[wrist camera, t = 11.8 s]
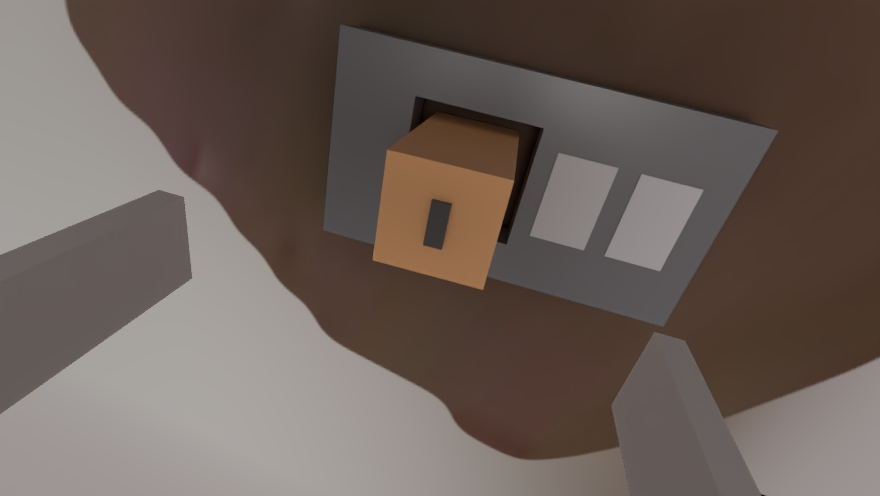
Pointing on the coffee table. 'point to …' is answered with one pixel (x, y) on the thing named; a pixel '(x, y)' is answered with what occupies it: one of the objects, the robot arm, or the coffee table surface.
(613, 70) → the coffee table surface
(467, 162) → the charger
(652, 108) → the power strip
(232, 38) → the coffee table surface
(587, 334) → the coffee table surface
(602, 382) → the coffee table surface
